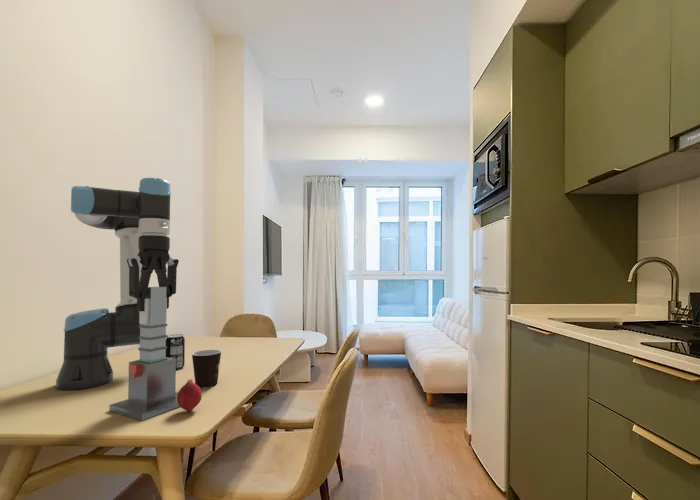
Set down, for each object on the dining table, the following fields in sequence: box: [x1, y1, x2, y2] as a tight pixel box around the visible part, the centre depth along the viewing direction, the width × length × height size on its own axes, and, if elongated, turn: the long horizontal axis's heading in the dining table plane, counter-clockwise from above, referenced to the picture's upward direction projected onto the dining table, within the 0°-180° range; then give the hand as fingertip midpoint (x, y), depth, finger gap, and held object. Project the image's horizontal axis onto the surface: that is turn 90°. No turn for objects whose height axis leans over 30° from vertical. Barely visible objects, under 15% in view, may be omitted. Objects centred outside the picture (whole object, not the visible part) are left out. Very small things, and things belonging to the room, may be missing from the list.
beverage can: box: [166, 333, 186, 371], centre depth 137 cm, size 7×7×12 cm
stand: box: [108, 357, 181, 421], centre depth 98 cm, size 14×14×12 cm
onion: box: [177, 378, 203, 413], centre depth 94 cm, size 6×6×8 cm
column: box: [137, 286, 168, 364], centre depth 99 cm, size 5×5×22 cm
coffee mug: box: [191, 349, 222, 389], centre depth 118 cm, size 12×9×10 cm
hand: (153, 322), depth 99 cm, fingers closed on column, 4 cm apart
